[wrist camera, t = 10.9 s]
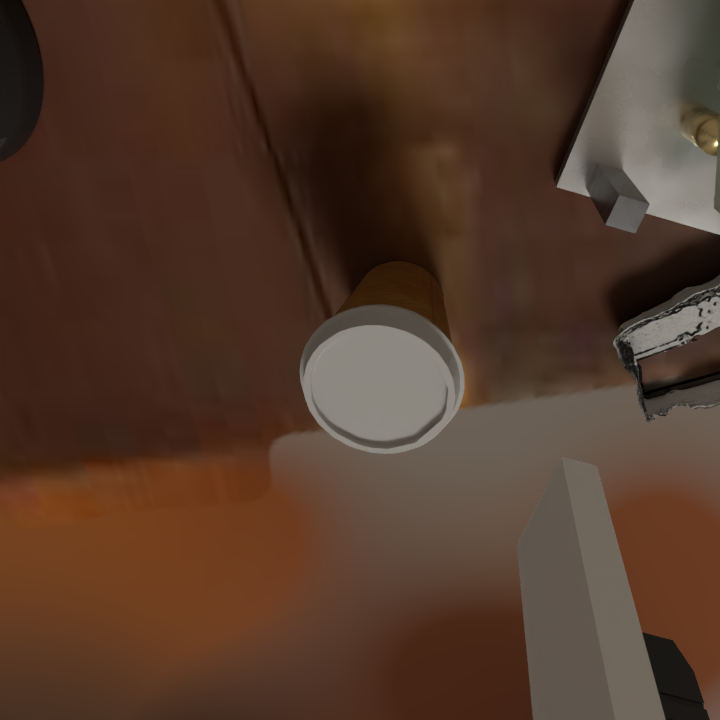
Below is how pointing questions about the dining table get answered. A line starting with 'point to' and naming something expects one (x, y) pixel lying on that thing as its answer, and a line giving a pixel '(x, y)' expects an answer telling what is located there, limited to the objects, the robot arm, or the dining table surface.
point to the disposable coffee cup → (385, 363)
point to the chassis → (653, 119)
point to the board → (717, 177)
